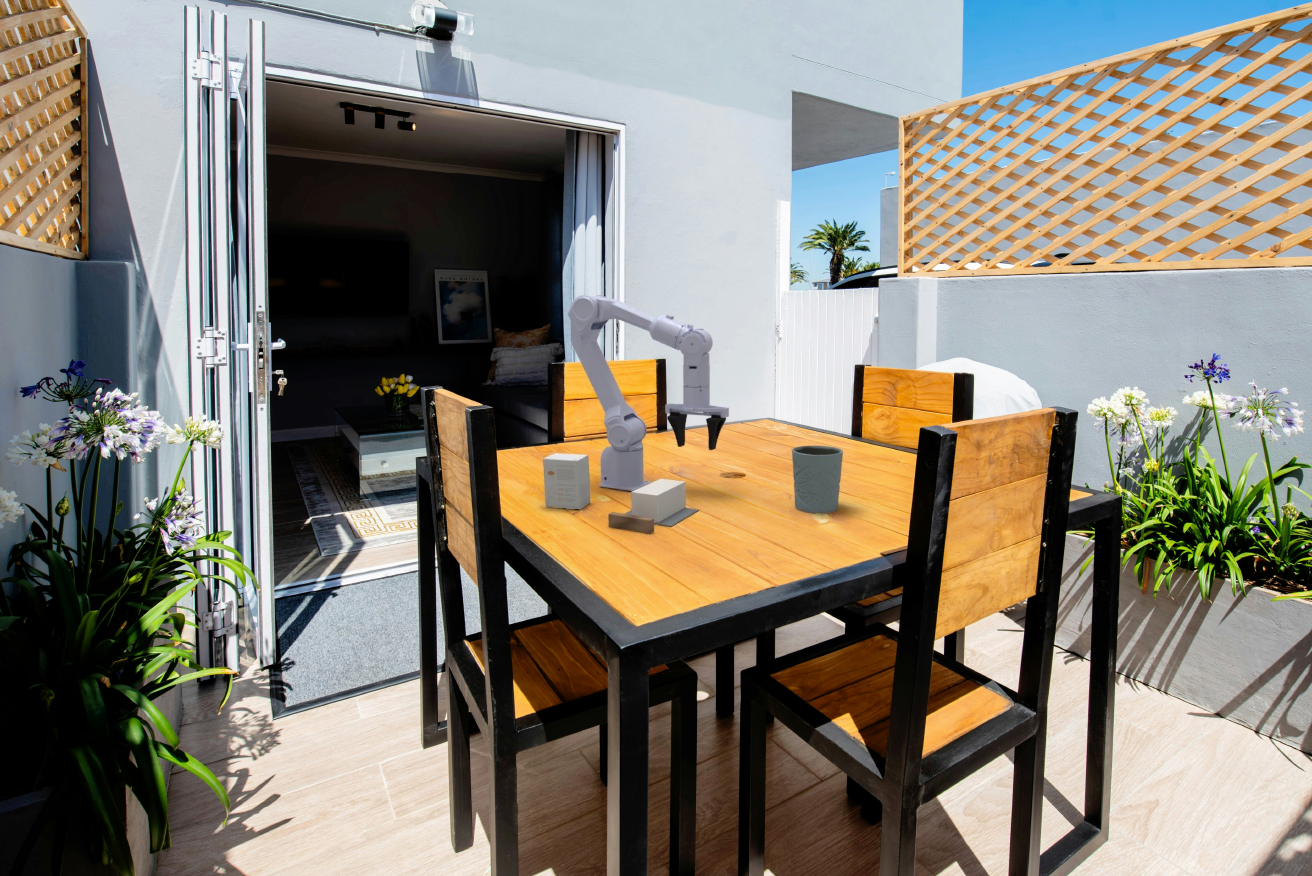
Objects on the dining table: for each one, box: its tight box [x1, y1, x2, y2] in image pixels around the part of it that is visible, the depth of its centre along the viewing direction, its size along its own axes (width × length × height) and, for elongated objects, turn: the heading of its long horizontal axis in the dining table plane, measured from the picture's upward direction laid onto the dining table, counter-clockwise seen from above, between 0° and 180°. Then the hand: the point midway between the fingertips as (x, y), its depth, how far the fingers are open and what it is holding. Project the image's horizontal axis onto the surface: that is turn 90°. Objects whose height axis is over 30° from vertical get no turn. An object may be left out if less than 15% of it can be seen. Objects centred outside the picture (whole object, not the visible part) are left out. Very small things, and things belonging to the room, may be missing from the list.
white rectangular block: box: [630, 478, 687, 523], centre depth 141 cm, size 6×12×6 cm, turn 151°
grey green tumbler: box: [791, 445, 844, 514], centre depth 144 cm, size 10×10×12 cm
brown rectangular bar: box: [607, 511, 655, 535], centre depth 132 cm, size 9×2×2 cm, turn 61°
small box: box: [542, 452, 592, 511], centre depth 147 cm, size 8×6×10 cm
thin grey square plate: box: [624, 507, 700, 528], centre depth 141 cm, size 12×12×1 cm
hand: (696, 447), depth 156 cm, fingers open, 7 cm apart
